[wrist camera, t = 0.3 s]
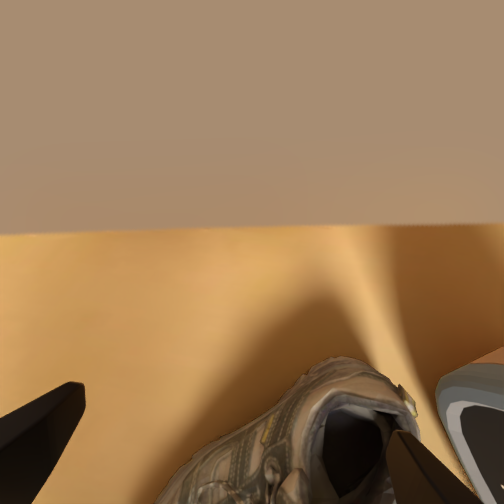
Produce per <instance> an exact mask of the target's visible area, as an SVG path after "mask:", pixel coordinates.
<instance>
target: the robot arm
mask: <svg viewBox="0 0 504 504" xmlns="http://www.w3.org/2000/svg"><path fill="white" fill-rule="evenodd" d="M85 407H86V400H85V386H84V384H83V383H79V382H72V381H70V382H67V383H65V384H63V385H61V386H59V387H57V388H55V389H54V390H52V391H50V392H48V393H46V394H44V395H42V396H41V397H39V398H37V399H35V400H33V401H31V402H29V403H28V404H26V405H24V406H22V407H20V408H18V409H16V410H14V411H13V412H11V413H9V414H7V415H5V416H3V417H1V418H0V504H31V503H32V502H33V500H34V499H35V497H36V496H37V494H38V493H39V491H40V490H41V488H42V487H43V485H44V484H45V482H46V480H47V479H48V477H49V476H50V474H51V472H52V471H53V469H54V467H55V466H56V464H57V462H58V460H59V458H60V457H61V455H62V453H63V451H64V449H65V447H66V445H67V444H68V442H69V440H70V438H71V436H72V434H73V432H74V431H75V429H76V427H77V425H78V423H79V421H80V419H81V418H82V416H83V414H84V411H85ZM386 460H387V465H388V469H389V474H390V478H391V482H392V487H393V491H394V495H395V500H396V504H484V503H483V502H482V501H481V500H480V499H479V498H478V497H477V496H476V495H475V494H474V493H473V492H472V491H471V490H470V489H469V488H467V487H466V486H465V485H464V484H463V483H462V482H461V481H460V480H459V479H458V478H457V477H456V476H455V475H454V474H453V473H452V472H451V471H450V470H449V469H448V468H447V467H446V466H445V465H444V464H443V463H442V462H441V461H440V460H438V459H437V458H436V457H435V456H434V455H433V454H432V453H431V452H430V451H429V450H428V449H427V448H426V447H425V446H424V445H423V444H422V443H421V442H420V441H419V440H418V439H417V438H416V437H415V436H414V435H413V434H411V433H410V432H408V431H401V430H395V431H393V433H392V436H391V439H390V441H389V444H388V447H387V450H386Z"/></svg>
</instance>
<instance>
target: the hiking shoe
mask: <svg viewBox="0 0 504 504" xmlns="http://www.w3.org/2000/svg"><path fill="white" fill-rule="evenodd" d="M417 416H418V414H417V411H416V407H415V401H414V400H413V399H412V398H411V396H410V395H409V394H408V393H407V392H406V391H405V389H404V388H403V387H402V386H401V385H400V384H399V385H398V388H397V387H396V386H395V385H394V384H393V383H392V382H391V381H390V379H389V378H388V377H386V376H384V375H383V374H381V373H379V372H378V371H376V370H375V369H374V368H372V367H371V366H370V365H368V364H366V363H364V362H363V361H361V360H358V359H354V358H349V357H343V356H340V357H337V358H333V357H330V358H328V359H326V360H324V361H322V362H320V363H318V364H316V365H314V366H312V367H311V369H310V371H309V372H308V374H307V375H305V374H303V375H302V376H301V377H300V378H298V379H297V381H296V383H295V384H294V386H293V387H292V388H291V389H288V390H287V391H286V392H285V393H284V395H283V396H282V397H281V398H280V400H279V402H278V404H276V405H275V406H274V407H272V408H271V409H270V410H268V411H267V412H265V413H264V414H262V415H261V416H259V417H258V418H256V419H255V420H253V421H252V422H250V423H248V424H247V425H245V426H243V427H241V428H239V429H238V430H236V431H234V432H232V433H230V434H227V435H224V436H221V437H220V440H218V441H213V442H211V443H209V444H208V445H206V446H204V447H203V448H201V449H200V450H199V451H197V452H196V453H195V454H194V455H192V460H191V461H189V462H188V463H187V464H185V465H183V466H181V467H180V468H179V469H178V471H177V472H176V473H175V474H174V475H173V477H172V478H171V479H170V480H169V483H168V485H167V486H166V487H165V488H164V489H163V491H162V492H161V493H160V495H159V496H158V498H157V499H156V501H155V502H154V504H396V500H395V495H394V491H393V487H392V482H391V478H390V474H389V469H388V465H387V460H386V450H387V447H388V444H389V441H390V439H391V436H392V433H393V431H395V430H401V431H408V432H410V433H411V434H413V435H414V436H415V437H416V438H417V439H418V440H419V441H420V442H421V440H420V430H419V427H418V425H417V422H416V420H415V418H416V417H417Z"/></svg>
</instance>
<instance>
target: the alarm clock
mask: <svg viewBox="0 0 504 504" xmlns="http://www.w3.org/2000/svg"><path fill="white" fill-rule="evenodd" d="M435 397H436V404H437V410H438V414H439V417H440V419H441V421H442V423H443V426H444V428H445V430H446V432H447V435H448V437H449V439H450V441H451V444H452V446H453V448H454V450H455V453H456V455H457V457H458V459H459V461H460V463H461V464H462V466H463V468H464V470H465V472H466V474H467V476H468V478H469V480H470V481H471V483H472V485H473V487H474V489H475V491H476V493H477V495H478V497H479V498H480V500H481V501H482V502H483V503H484V504H504V346H503V347H501V348H499V349H497V350H495V351H493V352H491V353H489V354H487V355H485V356H482V357H480V358H478V359H476V360H474V361H472V362H470V363H468V364H466V365H464V366H462V367H460V368H458V369H456V370H454V371H452V372H450V373H448V374H446V375H444V376H442V377H441V378H440V379H439V382H438V384H437V387H436V390H435Z"/></svg>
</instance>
